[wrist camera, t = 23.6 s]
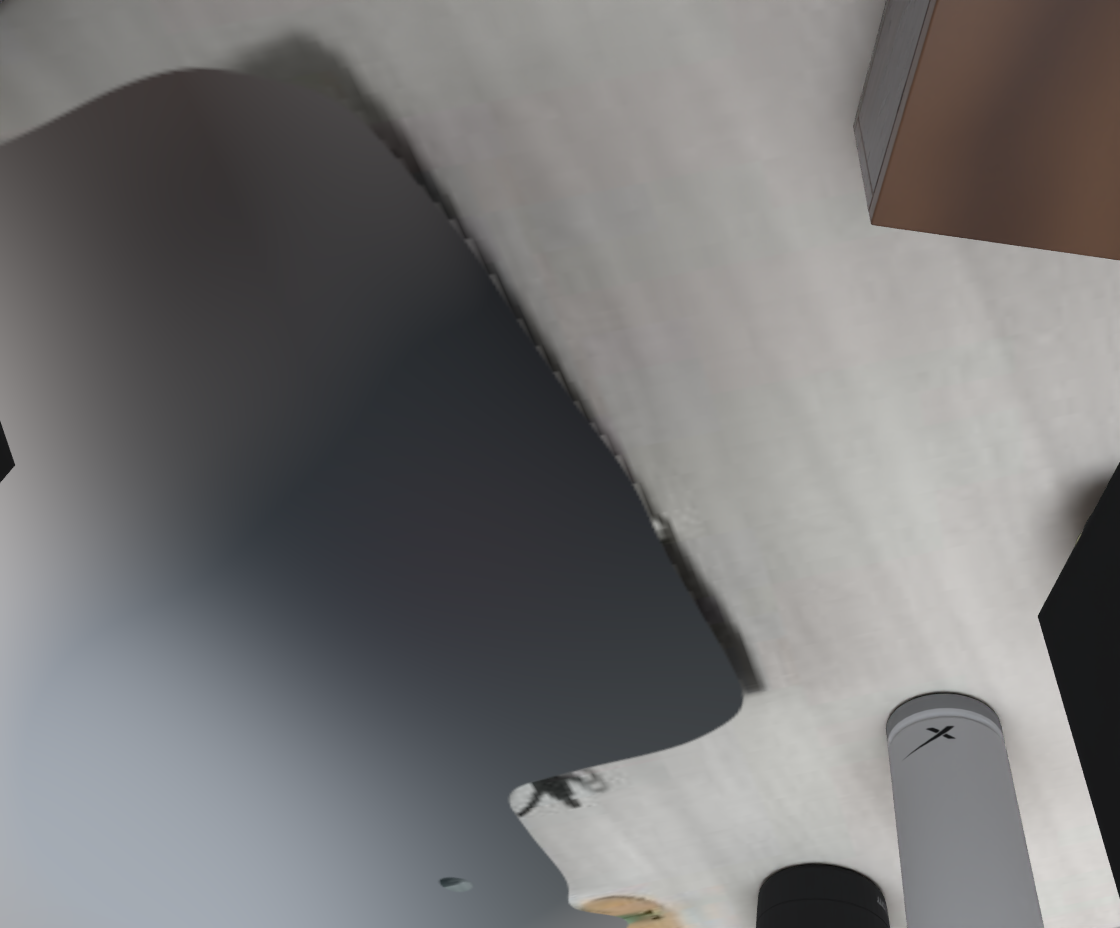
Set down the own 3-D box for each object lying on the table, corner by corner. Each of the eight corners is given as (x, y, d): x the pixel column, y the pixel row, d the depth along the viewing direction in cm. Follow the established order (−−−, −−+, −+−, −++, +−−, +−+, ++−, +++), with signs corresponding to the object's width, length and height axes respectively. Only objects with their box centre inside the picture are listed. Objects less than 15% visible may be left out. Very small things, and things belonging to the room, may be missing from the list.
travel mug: (909, 677, 58) (960, 1057, 43) (1021, 709, 58) (1113, 1099, 43) (862, 741, 62) (893, 1110, 47) (967, 771, 62) (1033, 1148, 47)
